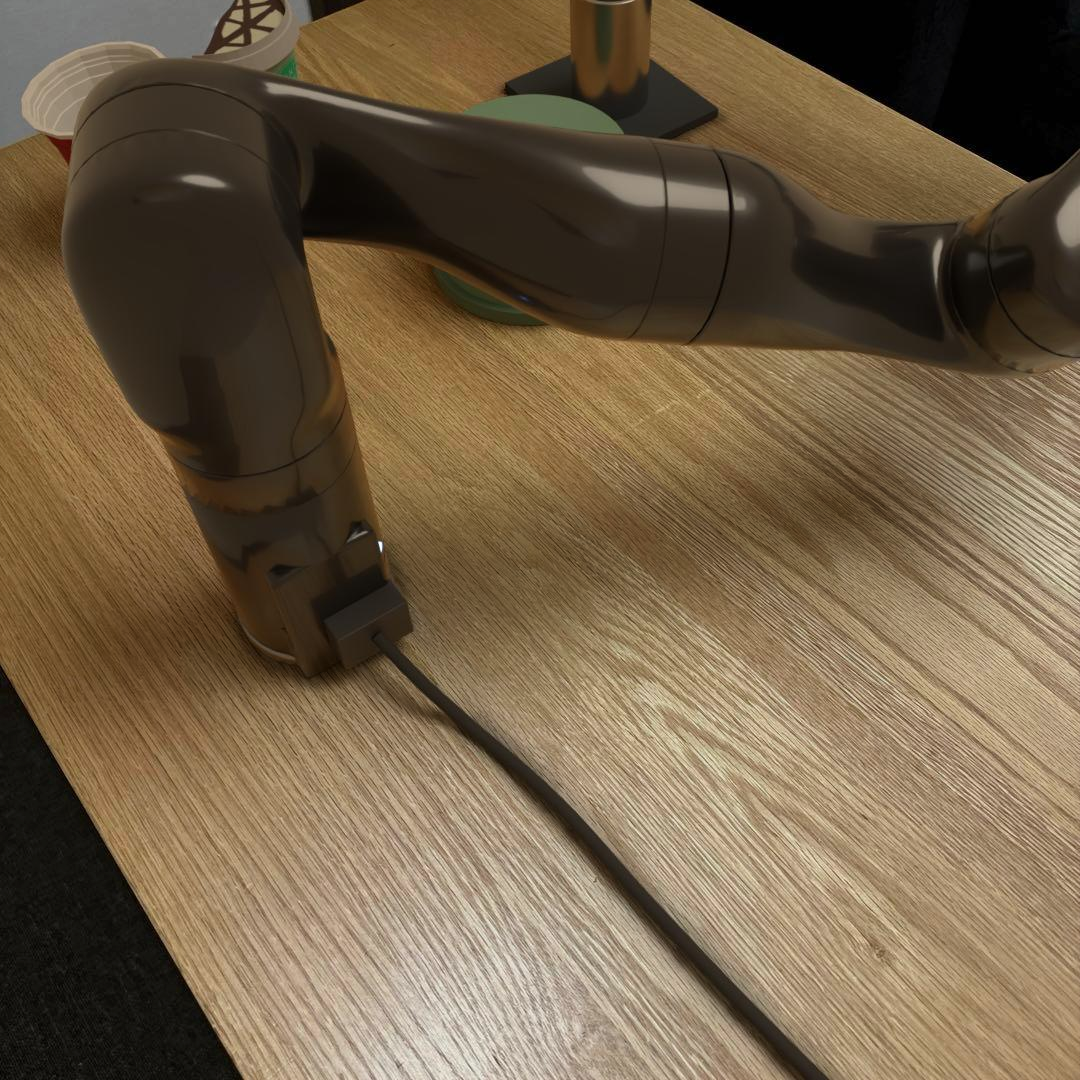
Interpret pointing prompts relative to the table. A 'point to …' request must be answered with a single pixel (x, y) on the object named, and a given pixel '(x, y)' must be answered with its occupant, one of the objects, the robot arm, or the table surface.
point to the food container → (256, 37)
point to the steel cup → (610, 54)
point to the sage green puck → (536, 112)
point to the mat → (660, 118)
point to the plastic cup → (75, 87)
